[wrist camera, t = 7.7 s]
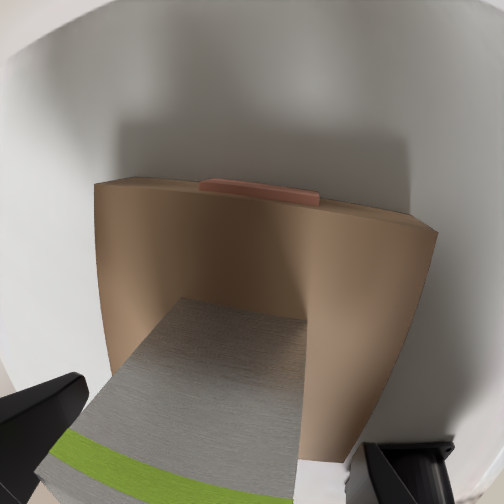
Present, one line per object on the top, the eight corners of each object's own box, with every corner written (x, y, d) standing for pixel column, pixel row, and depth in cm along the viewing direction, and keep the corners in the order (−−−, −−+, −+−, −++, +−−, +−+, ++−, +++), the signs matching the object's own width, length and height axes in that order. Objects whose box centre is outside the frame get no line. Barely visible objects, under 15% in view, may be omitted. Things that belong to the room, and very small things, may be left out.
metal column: (308, 320, 10) (282, 564, 3) (285, 409, 12) (250, 587, 4) (180, 296, 11) (32, 471, 3) (182, 387, 12) (96, 538, 5)
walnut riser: (411, 207, 11) (440, 223, 8) (341, 422, 15) (343, 463, 12) (135, 170, 13) (94, 176, 10) (143, 381, 17) (121, 413, 14)
